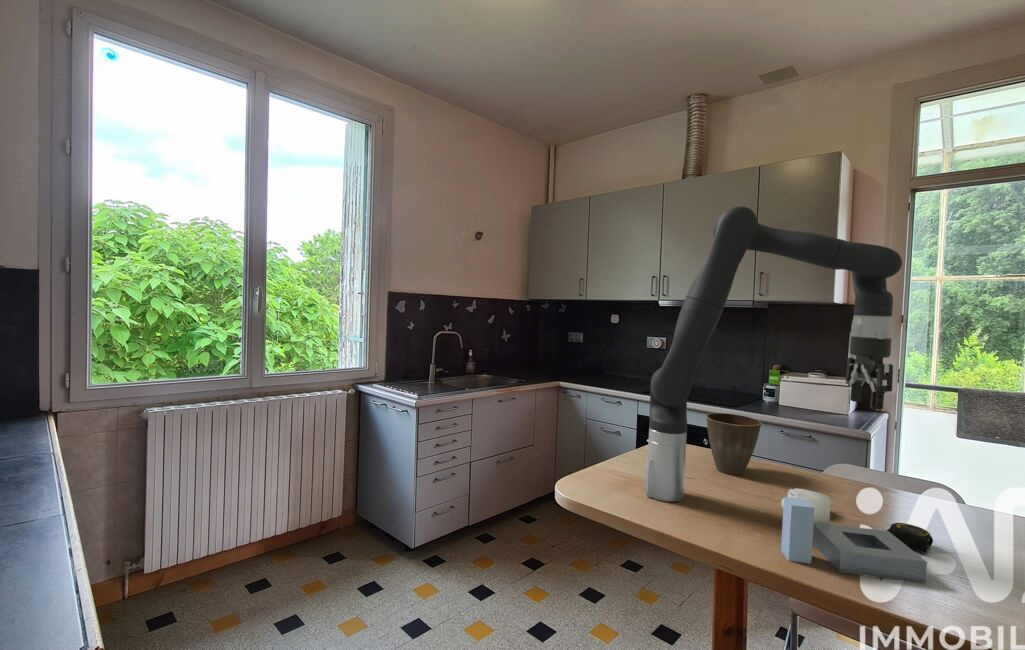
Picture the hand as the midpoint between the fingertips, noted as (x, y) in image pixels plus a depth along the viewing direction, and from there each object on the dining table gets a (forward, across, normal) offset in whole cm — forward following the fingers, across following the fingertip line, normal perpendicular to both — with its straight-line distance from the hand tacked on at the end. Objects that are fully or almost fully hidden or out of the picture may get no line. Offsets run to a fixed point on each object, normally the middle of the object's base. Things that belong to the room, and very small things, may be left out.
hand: (865, 405), depth 109 cm
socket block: (+28, +20, -8) cm, 35 cm away
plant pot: (+28, -28, -21) cm, 45 cm away
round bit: (+28, +9, -13) cm, 32 cm away
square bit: (+28, +22, -22) cm, 41 cm away
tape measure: (+28, +11, +5) cm, 30 cm away
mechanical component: (+28, -3, -10) cm, 30 cm away
